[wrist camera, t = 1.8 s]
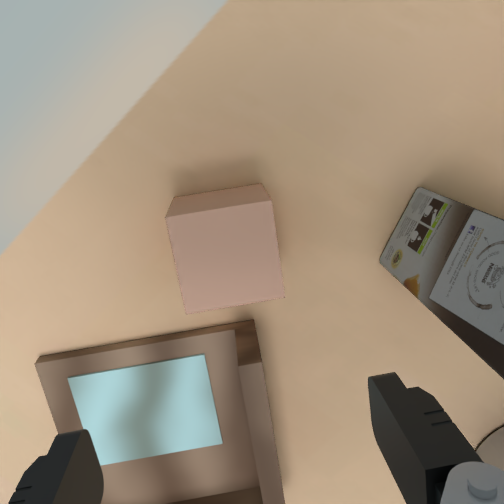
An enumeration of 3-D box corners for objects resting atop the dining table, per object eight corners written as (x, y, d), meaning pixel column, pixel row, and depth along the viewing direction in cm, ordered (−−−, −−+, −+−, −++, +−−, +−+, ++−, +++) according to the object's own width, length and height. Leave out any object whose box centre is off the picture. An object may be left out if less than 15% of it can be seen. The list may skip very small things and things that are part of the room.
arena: (253, 319, 34) (261, 362, 29) (281, 487, 39) (292, 552, 34) (39, 356, 34) (4, 407, 28) (94, 521, 39) (74, 593, 33)
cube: (261, 183, 31) (271, 199, 26) (272, 264, 33) (285, 297, 28) (174, 197, 31) (165, 217, 26) (190, 278, 33) (186, 314, 27)
